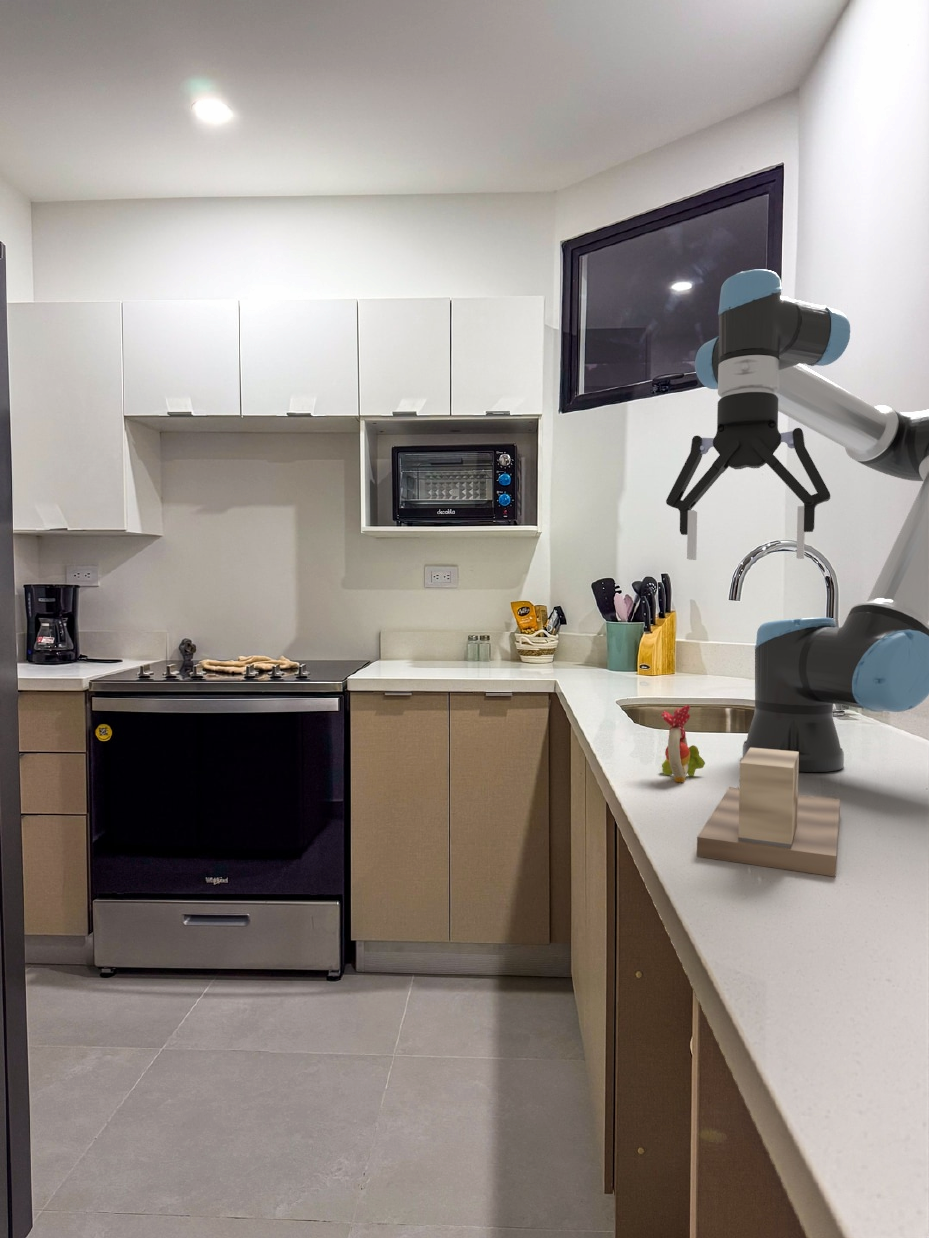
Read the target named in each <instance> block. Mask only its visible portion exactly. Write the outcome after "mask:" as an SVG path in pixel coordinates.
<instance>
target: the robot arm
mask: <svg viewBox="0 0 929 1238" xmlns="http://www.w3.org/2000/svg"><path fill="white" fill-rule="evenodd" d="M782 291H783V288H782V281H781V278H780V276H779V275H778V274H777V272H775V271H772V270H768V269H760V268H759V269H750V270H744V271H740V272H737V273H736V274H734V275H731V276H730V277H727V279H726V280H725V281H724V282H723V284H722V285H721V288H720V294H719V303H718V304H719V306H718V312H717V315H718V336H716V337H715V338H713V339H711V340H709V341H707V342H705V343H704V344H702V345H701V347H700V348H699V349H698V351H697V353H696V356H695V361H694V370H695V372H696V373H695V374H696V377H697V379H698V380H699V382H700V383H701V384H702V385H703V387H705V388H707V389H710V390H717V395H718V396H719V397H720V398H719V400H718V401H717V415H716V416H717V418H716V419H717V420H716V422H717V423H716V433H715V436H714V437H701V435H695V436H693V437H692V439H691V446H690V452H689V453H688V457H687V458H686V460H685V462H684V464H683V465H682V468H681V470H680V472H679V474H678V476H677V478H676V480H675V482H674V484H673V486H672V488H671V490H670V492H669V494H668V496H667V498H666V500H665V503H666V505H667V506H668V507H672V508H675V509H677V510H678V511H679V533H680V535H682V536H686V538H687V540H686V541H687V542H686V545H687V546H686V559H687V560H688V561H689V560H690V561H692V560H693V561H696V560H697V543H698V541H697V539H698V538H697V537H698V534H697V533H698V531H697V530H698V512H697V511H696V510H694V509H693V508H694V507H695V505H697V503H698V502H699V501H700V499H701V498H702V497H703V496H704V495H705V494H706V493H707V492H708V490H709V489H710V488H711V487H712V486H713V485H714V483H716V481H717V480H718V479H719V478H720V477H721V475H722V474H724V473H725V472H726V471H727V469H729V468H731V469H734V470H743V469H746V468H749V469H760V468H761V467H763V466H765V465H766V464H767V466H768V467H769V468H770V469H771V470H773V472H774V473H775V474H776V475H777V476H778V477H779V478H780V480H782V481H783V483H784V484H785V485H786V486H787V487H788V488H789V489H790V490H791V491H792V492H793V494H795V496H797V498H798V499H799V500H800V501H801V502H802V503H803V505H800V506H797V516H796V517H797V519H796V520H797V521H796V522H797V524H796V559H798V560H799V559H800V560H801V559H802V560H803V559H805V541H806V539H805V535H806V533H813V532H814V530H815V519H816V518H815V515H816V514H815V513H816V511H815V510H816V507H817V506H819V504H822V503H825V502H829V501H830V499H831V493H830V491H829V489H828V487H827V485H826V483H825V481H824V479H823V478H822V476H821V474H820V472H819V470H818V467H817V466H816V465H815V463H814V461H813V459H812V457H811V455H810V454H809V452H808V449H807V448H806V446H805V444H806V442H805V434H804V431H803V429H802V428H800V427H796V428H794V429H793V430H791V431H785V432H780V430H779V413H780V414H783V415H785V416H786V417H788V418H791V419H792V420H794V421H796V422H797V423H799V424H801V425H803V426H805V427H806V428H808V429H810V430H812V431H814V432H815V433H818V434H819V435H821V436H823V437H825V438H827V439H828V440H831V441H832V442H834V443H836V444H838V445H839V446H842V447H843V448H845V451H846V454H847V455H848V457H849V458H850V459H852V460H853V461H855V462H857V463H859V464H861V465H863V466H866V467H867V468H870V469H872V470H874V471H876V472H877V471H878V472H879V473H883V474H885V475H889V476H890V477H893V478H899V479H901V480H907V481H912V482H913V481H914V482H922V484H921V486H920V489H919V491H918V492H917V495H916V497H915V499H914V501H913V503H912V505H911V508H910V510H909V512H908V514H907V516H906V518H905V520H904V522H903V524H902V526H901V529H900V531H899V533H898V535H897V537H896V539H895V541H894V544H893V545H892V548H891V550H890V551H889V553H888V555H887V558H886V561H885V563H884V565H883V567H882V569H881V571H880V573H879V575H878V577H877V580H876V582H875V583H874V585H873V588H872V589H871V592H870V594H869V596H868V598H867V600H866V602H865V601H864V602H861V603H858V604H856V605H853V606H852V607H851V609H850V610H849V613H848V614H847V616H846V619H845V621H844V622H843V625H842V626H841V627H837V625H836V622H835V620H834V619H833V618H831V617H807V618H806V617H805V618H790V619H779V620H773V621H767V622H764V623H762V624H761V625H760V626H759V627H758V629H757V631H756V641H755V645H754V713H753V717H752V720H751V722H750V725H749V726H750V727H749V730H748V733H747V736H746V737H747V738H746V739H745V740H744V742H743V744H742V757H741V759H743V758H744V756H745V755H746V753H747V752H748V750H749V749H750V747H751V748H763V749H774V750H785V751H797V752H799V768H798V772H803V773H805V772H806V773H821V772H822V773H823V772H825V773H826V772H827V773H828V772H834V771H838V770H841V769H844V765H845V764H844V763H845V753H844V750H843V748H842V747H841V744H840V740H839V735H838V732H837V728H836V725H835V722H834V716H833V714H834V712H833V710H834V705H839V706H840V705H841V706H845V707H850V708H857V709H858V708H859V709H863V710H866V711H871V712H876V713H878V712H879V713H881V712H889V713H890V712H891V713H900V712H902V713H903V712H905V711H909V710H912V709H914V708H916V707H918V706H920V704H921V703H923V702H924V701H925V700H926V699H927V698H928V697H929V409H926V410H920V411H910V412H909V411H908V412H907V411H906V412H902V411H896V410H895V409H893V408H891V407H889V406H887V405H877V406H874V405H872V404H870V403H869V402H867V401H865V400H863V399H862V398H860V397H859V396H857V395H855V394H854V393H852V392H850V391H848V390H847V389H845V388H843V387H841V386H839V384H836V383H834V382H833V381H831V380H829V379H827V378H826V377H824V376H822V375H820V374H819V373H818V372H815V371H814V370H812V369H811V368H808V367H807V366H809V367H814V366H820V367H821V366H823V367H824V366H828V365H831V364H832V363H835V362H836V361H837V360H839V358H841V357H842V355H843V354H844V352H845V351H846V349H847V347H848V345H849V342H850V338H851V324H850V321H849V319H848V316H846V314H844V313H843V312H841V311H840V310H838V309H834V308H830V307H829V306H827V305H825V304H817V303H811V302H806V301H802V300H797V299H792V298H789V297H788V296H783V295H782ZM803 364H804V365H803ZM805 365H807V366H805ZM781 443H786V445H787V447H788V448H789V449H794V450H795V453H796V456H797V457H798V459H799V461H800V463H801V465H802V467H803V469H804V470H805V472H806V474H807V477H808V478H809V480H810V481H811V483H812V486H813V488H814V489H815V492H816V493H814V494H811V493H810V492H809V491H808V490H807V489H806V487H804V486H803V485H802V484H801V483H800V482H799V481H798V480H797V479H796V478H795V476H794V475H793V474H792V473H791V472H790V471H789V470H788V468H786V467H785V465H783V464H782V462H781V461H780V460H779V459H778V458H777V456H776V455H774V453H775V452H776V450H778V448H779V446H780V445H781ZM711 448H714V449H715V451H716V452H717V453H718V454H719V455H718V456H717V458H716V459H715V460H714V461H713V462H712V465H711V466H710V468H709V469H708V470H707V471H706V472H705V473H704V474H703V476H702V477H701V478H700V479H699V480H698V481H697V482H696V483H695V485H694V486H693V487H692V489H691V490H690V491H689V492H688V493H687V495H686V496H685V497H684V494H685V492H686V490H687V489H688V486H689V484H690V482H691V480H692V479H693V476H694V475H695V472H696V471H697V469H698V467H699V465H700V463H701V460H702V458H703V456H704V455H706V454H708V452H709V450H710V449H711ZM683 497H684V498H683ZM682 498H683V499H682ZM833 704H834V705H833Z"/></svg>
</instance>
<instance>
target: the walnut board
mask: <svg viewBox="0 0 929 1238" xmlns="http://www.w3.org/2000/svg"><path fill="white" fill-rule="evenodd" d="M840 808H841V798H833V797H826V796H825V797H824V796H815V795H806V794H798V813H797V828H796V832H795V836H794V840H793V844H792V848H785V847H778V846H770V845H763V844H756V843H748V842H741V841H738V835H739V787H732V786H729V787H728V789H727V790H726V791H725V793H724V795H723V797H722V798H721V799H720V801H719V803H718V804H717V806H716V807H715V809H714V810H713V812H712V813H711V815H710V817H709V818H708V820H707V821H706V822H705V824H704V826H703V828H702V829H701V830H700V832H699V833H698V835H697V837H696V857H699V858H708V859H713V860H720V861H726V862H733V863H741V864H747V865H754V866H761V867H768V868H774V869H780V870H786V871H787V870H788V871H795V872H802V873H806V874H807V873H808V874H814V875H822V876H829V877H835V878H836V877H837V864H838V862H837V860H838V845H839V832H840V830H839V829H840V812H841V811H840V810H841V809H840Z"/></svg>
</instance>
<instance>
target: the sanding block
mask: <svg viewBox="0 0 929 1238" xmlns="http://www.w3.org/2000/svg"><path fill="white" fill-rule="evenodd" d="M798 768H799V752H797V751H785V750H774V749H763V748H751V747H750V749H749V750H748V752H747V753H746V755H745V756H744V758H741V761H740V762H739V783H738V784H739V786H738V788H739V835H738V841H741V842H748V843H756V844H763V845H770V846H778V847H785V848H792V844H793V840H794V836H795V832H796V828H797V813H798V795H799V771H798Z"/></svg>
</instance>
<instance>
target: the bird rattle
mask: <svg viewBox="0 0 929 1238" xmlns="http://www.w3.org/2000/svg"><path fill="white" fill-rule="evenodd" d="M690 710H691V705H689V704H687V705H684V706H683V707H681V708H677V709H675V710H674V712H673V715H672V714H671V713H669V712H667V711H665V710H664V711H663V712H662V713H661V715H660V716H661V718H662V719H663V720H664V721H665V722H666V723H667V724H668V725H669V726H670V728H669V731H668V732H669V733H668V741H667V746H666V748H665V751H664V752H665V759H664V761H663V762H662V764H661V769H662V773H663V775H665V776H671V775H673V780H674V782H676V783H684V782H685V780H686V777H687V775H688V776H689V777H694V776H695V772H696V771H697V769H703V768H704V767H705V765H706V762H705V760H704V758H703V757H701V755H700V751H699V748H698V747H697V746H696V745H693V744H692V745H690V746H688V741H687V735H686V734H687V733H686V729H685V728H684V726H685V725H686V724H687V723H688V721H689V719H690V717H691V716H690V715H691V714H690V713H689V712H690Z"/></svg>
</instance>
